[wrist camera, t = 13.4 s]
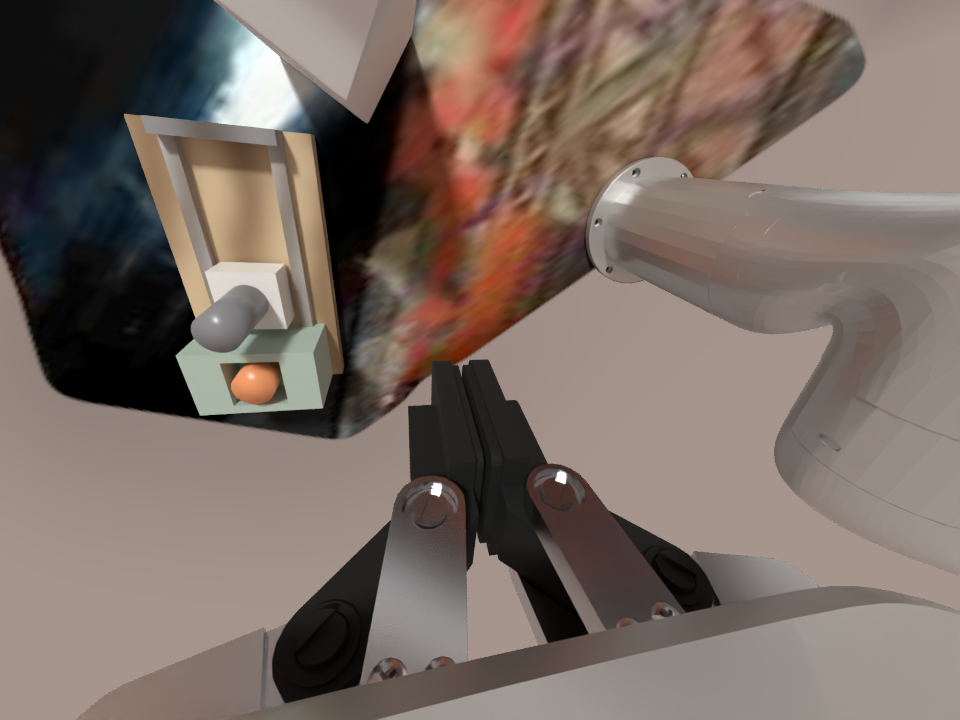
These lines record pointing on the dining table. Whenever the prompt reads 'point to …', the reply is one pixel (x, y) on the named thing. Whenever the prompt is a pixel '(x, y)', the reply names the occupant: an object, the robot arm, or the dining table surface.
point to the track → (241, 208)
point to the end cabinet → (291, 347)
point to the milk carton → (334, 42)
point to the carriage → (243, 304)
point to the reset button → (257, 382)
